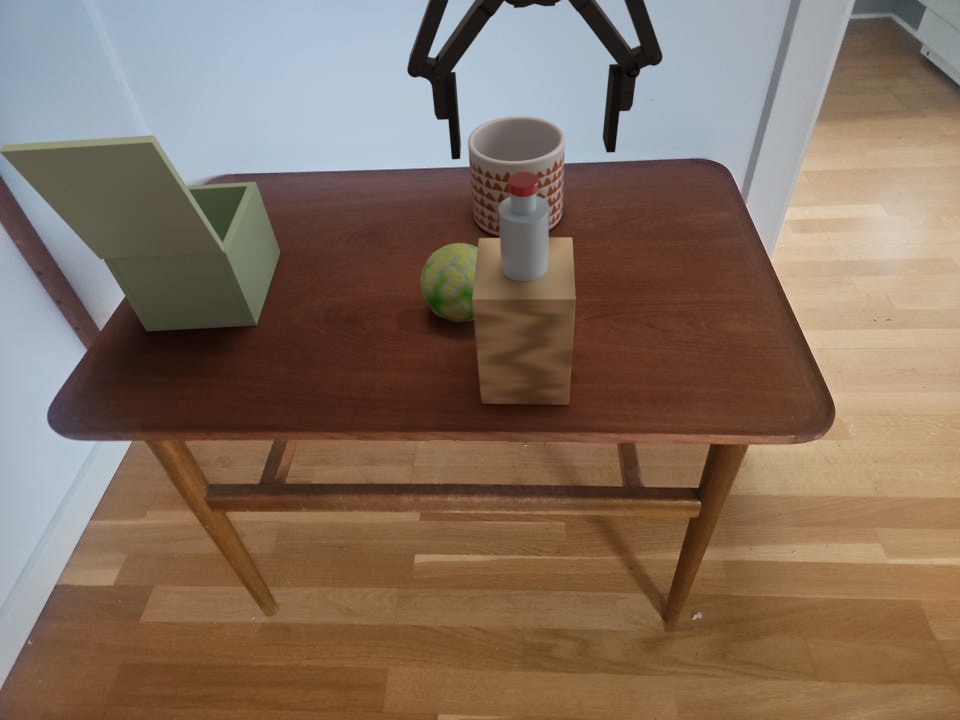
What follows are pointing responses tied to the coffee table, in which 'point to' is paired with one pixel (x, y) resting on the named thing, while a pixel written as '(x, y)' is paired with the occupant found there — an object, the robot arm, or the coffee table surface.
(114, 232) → the lid
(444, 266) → the decorative ball
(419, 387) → the coffee table surface
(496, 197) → the planter
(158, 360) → the coffee table surface
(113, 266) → the box
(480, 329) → the stand
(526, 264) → the bottle
